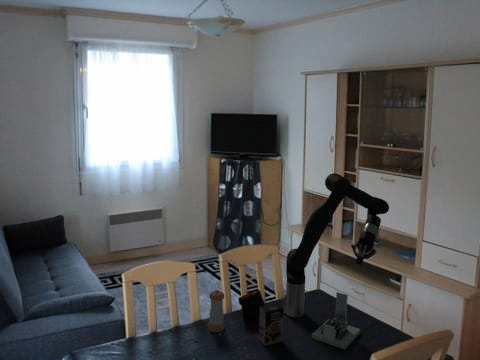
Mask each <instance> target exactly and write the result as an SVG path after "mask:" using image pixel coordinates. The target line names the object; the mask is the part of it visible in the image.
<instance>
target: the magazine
mask: <svg viewBox="0 0 480 360" xmlns="http://www.w3.org/2000/svg"><path fill="white" fill-rule="evenodd" d="M237 299H238V304H239V305H240V306H241V311H242V315H241V316H242V320H243V321H247V322H248V321H259V317H260V306H265V301H264V299H263V296H262V293H261V290H260V289H258V288H257V289H254V290H252V291H251V292H249V293H246V294H244V295H242V296H240V297H238V298H237Z"/></svg>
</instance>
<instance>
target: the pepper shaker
mask: <svg viewBox="0 0 480 360" xmlns="http://www.w3.org/2000/svg"><path fill="white" fill-rule="evenodd" d="M208 296H209V297H208V298H209V299H210V310H209V315H208V316H209V321H208V330H209V331H210V332H212V333H221V332H223V331H224V330H225V320H224V307H223V300H224V298H225V294H224V292H223V291H221V290H218V289H215V290H212V291H211V292H210V293H209V295H208Z"/></svg>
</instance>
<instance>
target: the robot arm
mask: <svg viewBox="0 0 480 360" xmlns="http://www.w3.org/2000/svg"><path fill="white" fill-rule="evenodd" d="M324 185H325V187H326V189H327V190H328V191H329V192H330V194H329V196H328V198H326V200H325V202H324V203H322V204H321V205H320V206H318V207H317V208H316V209H315V210H314V211H313V212H311V215H310V216H309V219H308V220H307V222H306V224H305V226H304V230H303V234H302V238H301V241H300V243H299V245H298V247H297V248H292V249H290V250H289V251H288V253H287V255H286V263H285V264H286V265H285V266H286V268H285V269H286V271H285V272H286V275H285V276H286V290H285V294H284V295H283V296H284V298H283V299H284V300H283V308H284V313H283V314H285V315H286V316H287V317H290V318H301V317H303V316H304V314H305V313H304V312H305V298H306V296H305V295H306V293H305V292H306V273H305V272H306V271H305V269H306V267H307V265H308V264H309V261H310V258H311V256H312V254H313V252H314V250H315V248H316V246H317V245H318V243H319V241H320V239H321V237H322V236H323V234H324V232H325V231H326V229H327V227H328V226H329V223H330V220H331V219H332V217H333V216H334V214H335V212H336V210H337V209H338V207H339V206H340V204H341V203H342V201H343V200H344V198H345V197H346V198H348V199H350V200H351V201H353V202H354V203H355V204H357V205H359V206H361V207H363V208H364V209H367V210H366V211H367V212H366V213H367V214H366V220H365V223H364V225H363V227H362V229H361V232H360V236H359V238H358V241H357V242H356V244H350V247H351V249H352V252H353V254H354V256H355V257H356V259H355V265H356V266H360V267H361V265H363V262H364V260H369V258H372V257H373V256H374V255H376V254H377V250H376V248H375V247H374V245H375V242H376V238H377V237H378V233H379V229H380V226H381V222H382V219H381V218H380V217H379V215H385V214H387V213H388V212H389V211H390V206H389V203H388V202H387V201H386V200H384V199H382V198H381V197H377V196H376V197H375V196H372V195H371V194H369V193H367V192H366V191H364V190H362V189H360V188H357V187H356V186H355V185H352V184H351V183H350V180H349V178H346V177H344V176H343V175H341V174H339V173H336V172H335V173H334V172H333V173H332V172H331V173H330V174H328V175H327V177H326V178H325V181H324ZM356 250H358V251H356Z"/></svg>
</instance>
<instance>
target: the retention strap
mask: <svg viewBox="0 0 480 360" xmlns="http://www.w3.org/2000/svg"><path fill="white" fill-rule="evenodd" d="M348 296H349V295H348V294H345V293H342V292H338V291H337V292H336V296H335V312H334V318H336V319H339V320H343V321H347V322H348V318H347V311H348V310H347V308H348ZM334 318H333V319H334Z"/></svg>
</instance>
